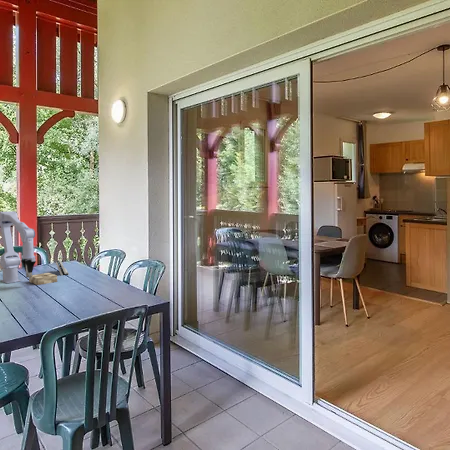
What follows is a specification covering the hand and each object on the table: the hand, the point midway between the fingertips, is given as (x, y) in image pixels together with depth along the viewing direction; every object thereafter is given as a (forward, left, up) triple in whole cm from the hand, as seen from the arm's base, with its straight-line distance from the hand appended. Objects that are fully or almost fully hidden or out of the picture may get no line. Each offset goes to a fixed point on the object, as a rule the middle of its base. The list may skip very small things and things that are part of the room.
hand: (28, 272), depth 223 cm
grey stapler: (-22, +31, -9) cm, 39 cm away
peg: (0, 0, -3) cm, 3 cm away
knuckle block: (-6, +11, -9) cm, 15 cm away
